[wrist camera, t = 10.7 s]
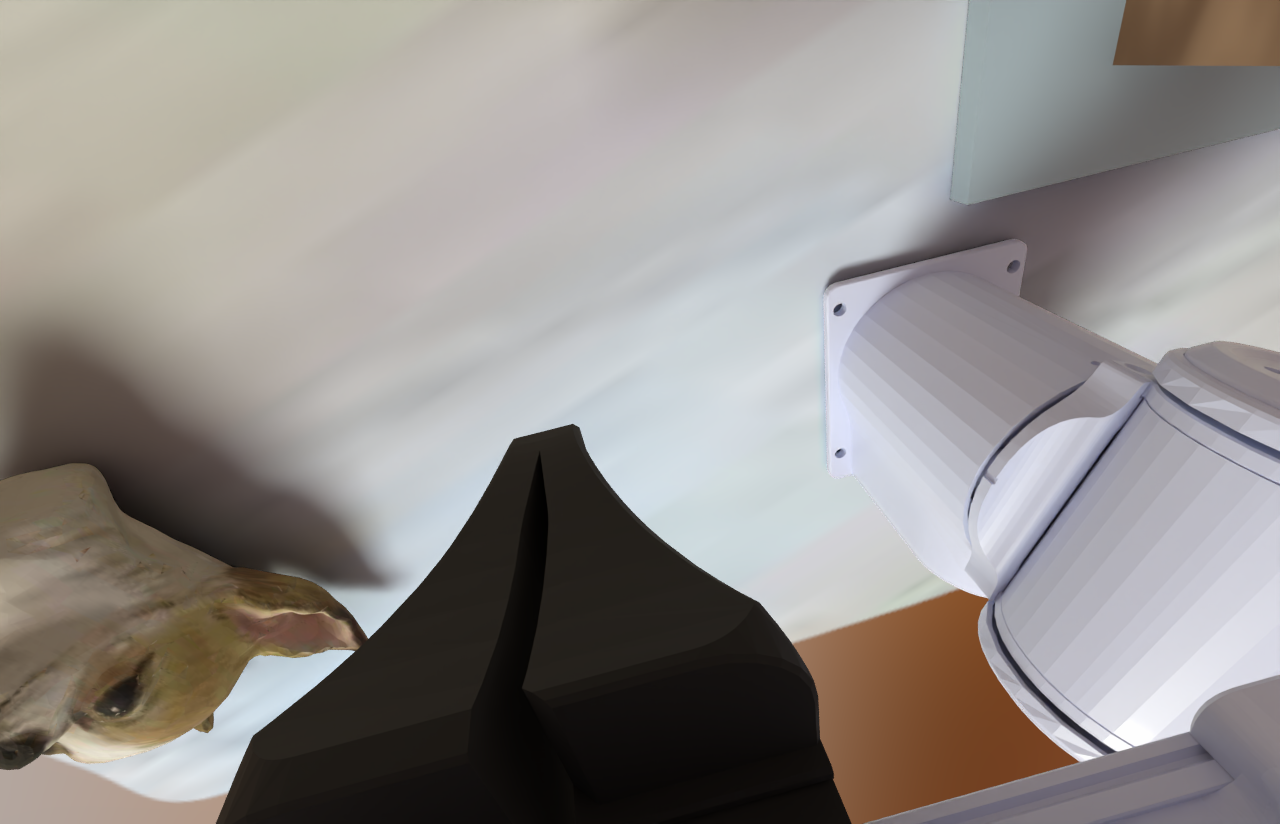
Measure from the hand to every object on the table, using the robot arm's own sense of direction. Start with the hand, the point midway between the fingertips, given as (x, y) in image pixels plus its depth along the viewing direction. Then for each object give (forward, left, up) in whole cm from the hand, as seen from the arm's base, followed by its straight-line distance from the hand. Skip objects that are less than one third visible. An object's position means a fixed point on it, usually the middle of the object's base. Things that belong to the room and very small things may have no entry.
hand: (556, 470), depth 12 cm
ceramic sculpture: (-7, +18, -11) cm, 22 cm away
